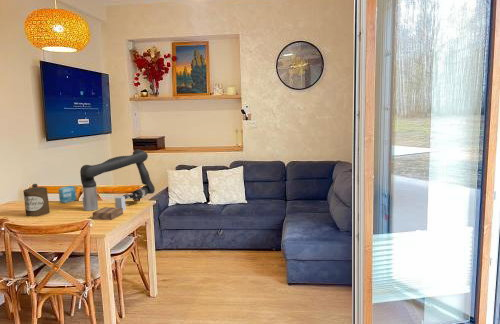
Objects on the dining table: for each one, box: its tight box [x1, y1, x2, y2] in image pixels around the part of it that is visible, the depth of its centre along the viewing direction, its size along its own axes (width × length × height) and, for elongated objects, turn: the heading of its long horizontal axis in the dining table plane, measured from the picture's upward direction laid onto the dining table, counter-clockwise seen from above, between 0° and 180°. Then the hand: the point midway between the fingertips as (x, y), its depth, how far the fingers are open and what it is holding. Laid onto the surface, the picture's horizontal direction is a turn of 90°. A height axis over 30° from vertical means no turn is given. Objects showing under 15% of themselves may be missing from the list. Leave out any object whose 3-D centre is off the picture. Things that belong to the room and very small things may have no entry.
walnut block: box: [92, 206, 124, 221], centre depth 254 cm, size 14×14×5 cm
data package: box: [58, 185, 77, 204], centre depth 301 cm, size 12×4×12 cm, turn 155°
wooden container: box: [23, 183, 50, 217], centre depth 264 cm, size 15×15×22 cm
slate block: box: [114, 195, 127, 212], centre depth 270 cm, size 5×5×10 cm
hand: (128, 198), depth 280 cm, fingers open, 8 cm apart
